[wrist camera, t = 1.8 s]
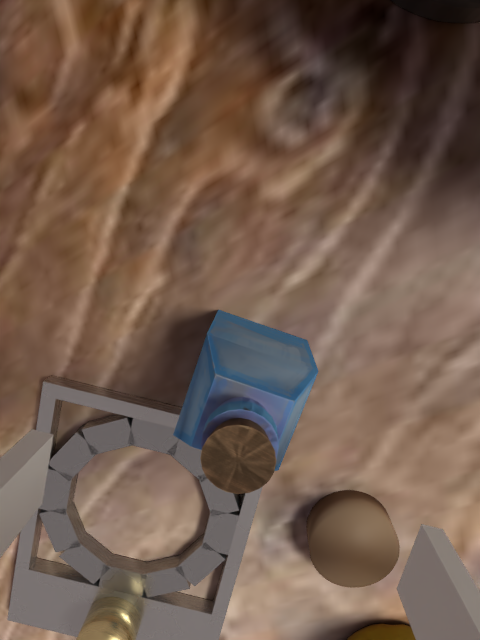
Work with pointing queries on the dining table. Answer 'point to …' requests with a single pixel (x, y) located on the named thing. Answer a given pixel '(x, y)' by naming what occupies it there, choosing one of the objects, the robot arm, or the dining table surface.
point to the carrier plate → (114, 570)
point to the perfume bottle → (245, 401)
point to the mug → (384, 633)
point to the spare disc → (351, 539)
